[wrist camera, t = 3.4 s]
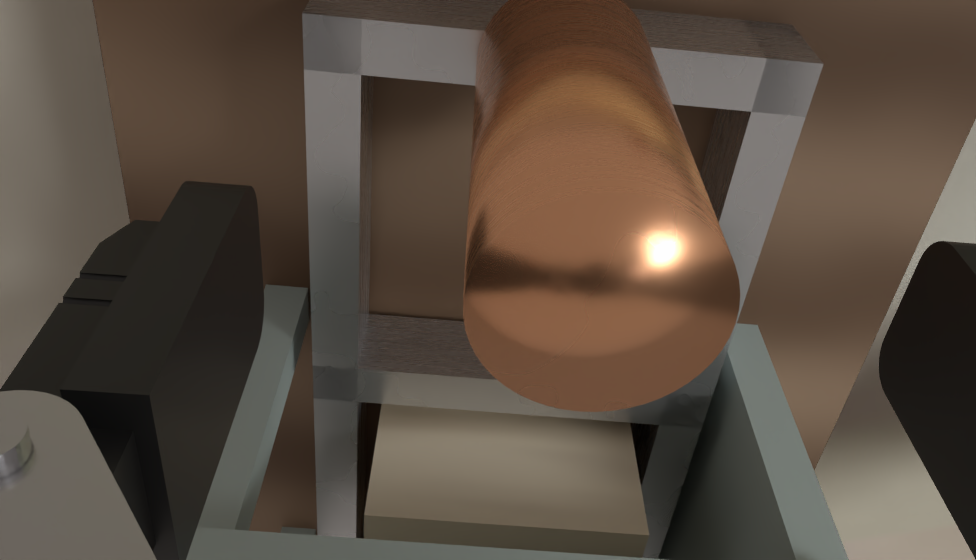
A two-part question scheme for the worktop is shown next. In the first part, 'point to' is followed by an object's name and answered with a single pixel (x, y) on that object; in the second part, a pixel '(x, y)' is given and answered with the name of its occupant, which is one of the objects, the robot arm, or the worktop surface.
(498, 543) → the block
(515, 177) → the slider
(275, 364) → the tunnel
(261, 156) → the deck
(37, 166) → the worktop surface
